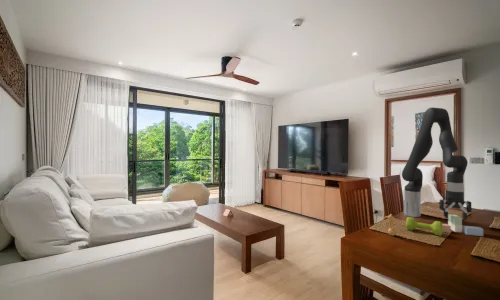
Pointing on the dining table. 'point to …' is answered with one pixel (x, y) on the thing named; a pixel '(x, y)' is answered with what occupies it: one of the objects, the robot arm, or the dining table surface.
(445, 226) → the terracotta brick
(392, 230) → the figurine
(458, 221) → the sage brick
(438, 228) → the dumbbell
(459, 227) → the cream brick
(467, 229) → the slate brick
